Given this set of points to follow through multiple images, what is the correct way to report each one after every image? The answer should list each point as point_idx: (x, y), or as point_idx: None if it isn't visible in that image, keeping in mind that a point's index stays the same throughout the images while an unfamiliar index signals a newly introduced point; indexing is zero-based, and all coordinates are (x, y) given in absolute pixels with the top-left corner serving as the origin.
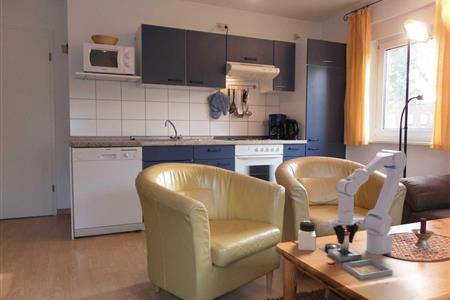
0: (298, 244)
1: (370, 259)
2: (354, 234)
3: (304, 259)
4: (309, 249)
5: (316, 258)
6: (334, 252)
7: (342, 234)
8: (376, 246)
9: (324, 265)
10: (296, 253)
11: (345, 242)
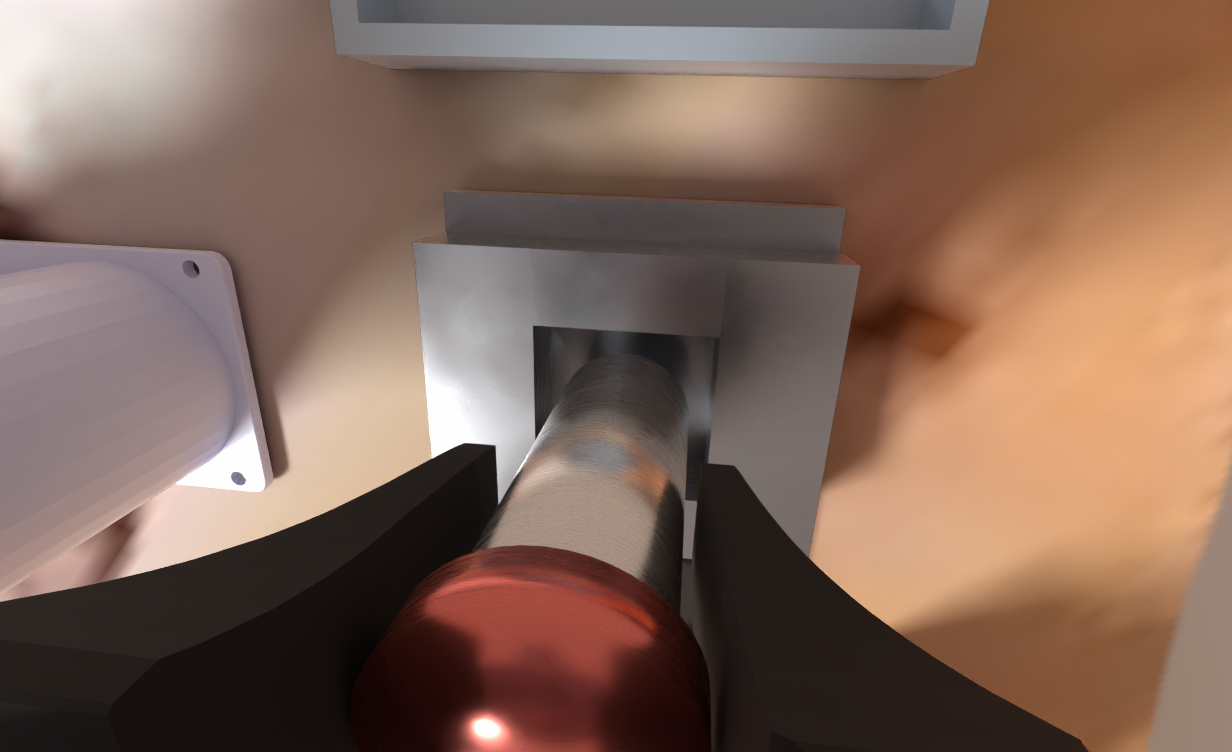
0: None
1: (378, 41)
2: (313, 524)
3: (1147, 558)
4: None
5: (969, 524)
6: (794, 458)
7: (792, 605)
8: (41, 323)
9: (1059, 310)
10: (1082, 716)
11: (641, 460)
